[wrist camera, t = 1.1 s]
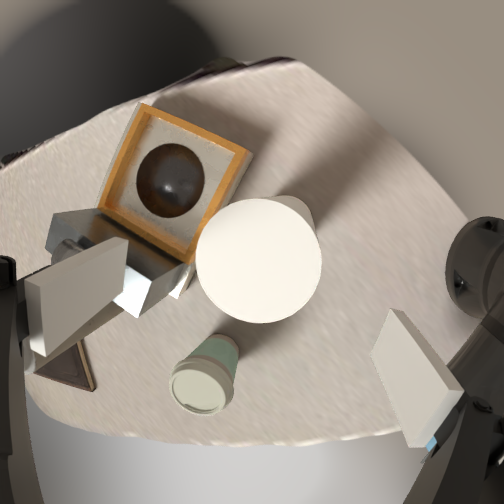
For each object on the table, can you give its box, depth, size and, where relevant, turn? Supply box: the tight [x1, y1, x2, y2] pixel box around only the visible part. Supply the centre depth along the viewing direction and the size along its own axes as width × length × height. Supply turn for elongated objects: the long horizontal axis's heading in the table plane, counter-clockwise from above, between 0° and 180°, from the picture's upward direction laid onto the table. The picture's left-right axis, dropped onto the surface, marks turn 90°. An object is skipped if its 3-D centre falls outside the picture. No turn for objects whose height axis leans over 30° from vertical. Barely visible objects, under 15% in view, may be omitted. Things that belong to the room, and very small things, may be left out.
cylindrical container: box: [196, 195, 322, 323], centre depth 29 cm, size 7×7×25 cm
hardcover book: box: [34, 341, 96, 392], centre depth 54 cm, size 16×23×2 cm
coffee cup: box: [169, 334, 239, 416], centre depth 41 cm, size 9×8×12 cm
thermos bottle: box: [23, 301, 125, 375], centre depth 35 cm, size 8×8×28 cm
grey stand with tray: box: [45, 102, 254, 318], centre depth 35 cm, size 18×22×18 cm
